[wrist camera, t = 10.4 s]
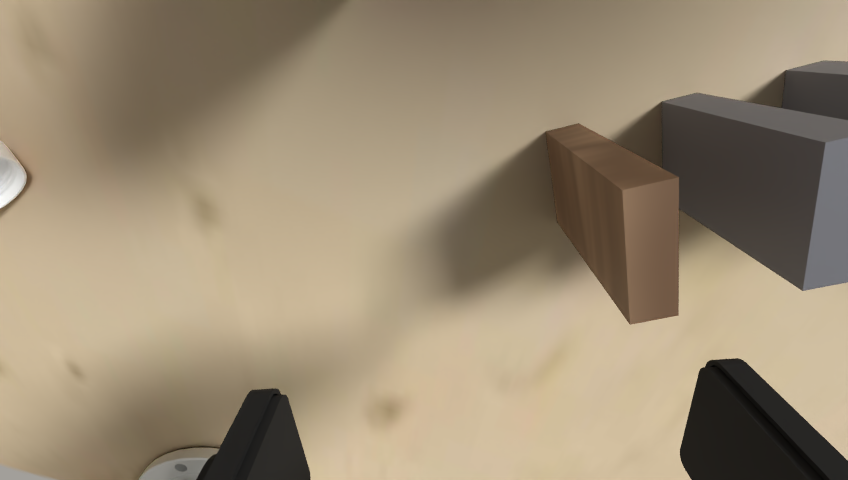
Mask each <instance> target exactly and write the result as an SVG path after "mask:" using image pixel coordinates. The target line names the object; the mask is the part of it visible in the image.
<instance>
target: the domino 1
mask: <svg viewBox="0 0 848 480" xmlns="http://www.w3.org/2000/svg"><path fill="white" fill-rule="evenodd" d="M546 139H547V147H548V154H549V162H550V170H551V177H552V185H553V192H554V200H555V208H556V215H557V223H558V224H559V225H560V227H561V228H562V230H563V231H564V232H565V234H566V235H567V237H568V238H569V239H570V241H571V242H572V244H573V245H574V246H575V248H576V249H577V251H578V252H579V253H580V255H581V256H582V258H583V259H584V261H585V262H586V263H587V265H588V266H589V268H590V269H591V270H592V272H593V273H594V275H595V276H596V277H597V279H598V280H599V282H600V283H601V284H602V286H603V287H604V289H605V290H606V291H607V293H608V294H609V296H610V297H611V299H612V300H613V301H614V303H615V304H616V306H617V307H618V308H619V310H620V311H621V313H622V314H623V315H624V317H625V318H626V320H627V321H628V322H629V324H635V323H641V322H646V321H651V320H656V319H662V318H667V317H672V316H677V315H678V293H679V177H678V176H676V175H674V174H672V173H670V172H668V171H666V170H665V169H663V168H661V167H659V166H657V165H655V164H653V163H651V162H650V161H648V160H646V159H644V158H642V157H640V156H638V155H636V154H635V153H633V152H631V151H629V150H627V149H625V148H623V147H622V146H620V145H618V144H616V143H614V142H612V141H610V140H608V139H607V138H605V137H603V136H601V135H599V134H597V133H595V132H594V131H592V130H590V129H588V128H586V127H584V126H582V125H580V124H579V123H578V124H574V125H570V126H566V127H562V128H558V129H554V130H550V131H546Z"/></svg>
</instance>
